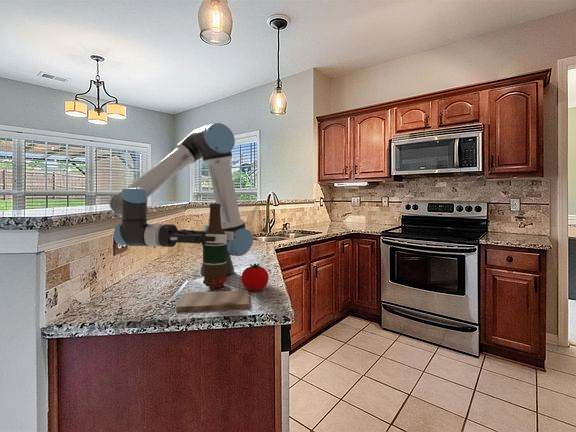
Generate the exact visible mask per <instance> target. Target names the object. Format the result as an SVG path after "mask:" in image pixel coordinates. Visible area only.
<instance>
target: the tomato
mask: <svg viewBox="0 0 576 432" xmlns="http://www.w3.org/2000/svg"><path fill="white" fill-rule="evenodd" d="M248 265H249V266H248V267H246V268H245V269H244V270H243V271H242V273H241V276H240V280H241V281H240V282H241V284H242V286H244V287H243V288H246V289H247V290H248V291H253V292H254V291H255V292H256V291H261V290H262V289H264V288H265V287H266V286H267V285H268V283H269V277H270V275H269V273H268V271H267V269H266V268H264V267H262V266H264V265H263V264H262V265H260V262H259V263H253V264H251V263H248Z"/></svg>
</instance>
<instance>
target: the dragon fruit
mask: <svg viewBox="0 0 576 432" xmlns="http://www.w3.org/2000/svg"><path fill="white" fill-rule="evenodd" d="M227 280H228V276H227V275H226V276H225V277H223V278H216V279H211V278H205V277H204V276H203V281H202V283H203V284H204V285H205V286H206V287H209V288H210V289H211V290H213V291H214V290H216V289H217V288H220V289H222V288H224V286H225V283H226V281H227Z"/></svg>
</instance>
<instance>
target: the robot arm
mask: <svg viewBox="0 0 576 432" xmlns="http://www.w3.org/2000/svg"><path fill="white" fill-rule="evenodd" d="M235 141H236V139H235V135H234V133H233V131H232V129H231V128H230V127H228V126H227V125H225V124H223V123H221V122H214V123H209V124H207V125H206V124H205V125H204V126H201V127H198V128H195V129H194V130H193V131H191V132H190V133H189V134H187V136H186V137H185V138H184V139H182V140H181V141H179V143H177V144H176V145H175V149H174V150H173V151H172V152H170V153H169V154H167V155H166V156H165V157H164V158H163V159H161V160H160V161H158V162H157V163H156V164H155V165H154V166H152V167H151V168H150V169H149V170H147V171H146V172H144V173H143V174H142V175H141V176H140V177H138V178H137V179H135V181H133V182H132V183H131V184H130V185H128V186H127V187H124V188H122V189H121V192H119V193H116V194H114V195H113V196H112V197H111V198H110V199H109V208H110V209H111V210H112V211H113V212H114V213H116V214H118V215H121V222H120V223H118V224H116V226H114V231H113V233H112V234H113V239H114V241H115V243H116V244H117V245H121V246H129V247H152V249H156V248H157V247H163V248H173V247H175V246H176V244H177V243H179V244H180V243H186V244H197V245H200V244H201V245H202V246H203V245H205V241H206V243H227V277H228V276H232V275H233V274H234V273H235V267H234V264H233V260H232V257H231V256H235V257H241V256H244V255H246V254H247V253H249V251H250V250H251V248H252V246H253V244H254V243H253V242H254V236H253V233H252V232H251V231H250V230H249V229H248V228H246V222H245V220H244V219H242V218H241V215H240V209H239V205H238V200H237V195H236V194H237V193H236V190H235V184H234V179H233V174H232V173H233V172H232V168H231V162H230V161H231V159H232V158H233V154H232V153H233V152H232V150H233V149H234V147H235V145H236V143H235ZM199 159H202V161H203V162H204V163H205V164H207V166H208V171H209V177H210V181H211V185H212V190H213V196H214V200H215V203H217V204H220V205H221V207H220V215H221V226H222V229H223V231H224V232H225V234H206V236H205V235H204V234H205V232H206V231H207V229H208V227H209V223H207V224H206V225H205V226H204V230H194V229H191V230H190V229H188V230H187V229H180V230H179V229H178V227H177V226H176V225H175V224H171V223H170V224H169V223H168V224H162V223H148V198H149V197H151V196H152V195H153V194H154V193H155V192H157V191H158V190H159V189H160V188H161V187H163V186H164V185H165V184H166V183H168V182H169V181H170V180H171V179H172V178H173V177H175V176H176V175H177V174H179V172H181V170H183V169H185V167H187V166H188V165H189V164H194V163H195V162H197V161H198V160H199ZM199 274H200V275H201V276H203V262H202V264H201V267H200V273H199Z"/></svg>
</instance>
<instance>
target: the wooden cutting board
mask: <svg viewBox="0 0 576 432" xmlns="http://www.w3.org/2000/svg"><path fill="white" fill-rule="evenodd" d="M175 307H176V308H175V310H176V313H177V312H179V313H180V312H198V311H217V310H218V311H222V310H239V309H240V310H241V309H242V310H244V309H245V310H248V309H250V300H249V289H247V290H229V291H228V290H225V291H224V290H223V291H222V290H221V291H218V290H217V291H194V292H193V291H191V292H186V291H185V292H183V294H182V296H181V298H180V299H179V301H178V303H177V305H176V306H175Z"/></svg>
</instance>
